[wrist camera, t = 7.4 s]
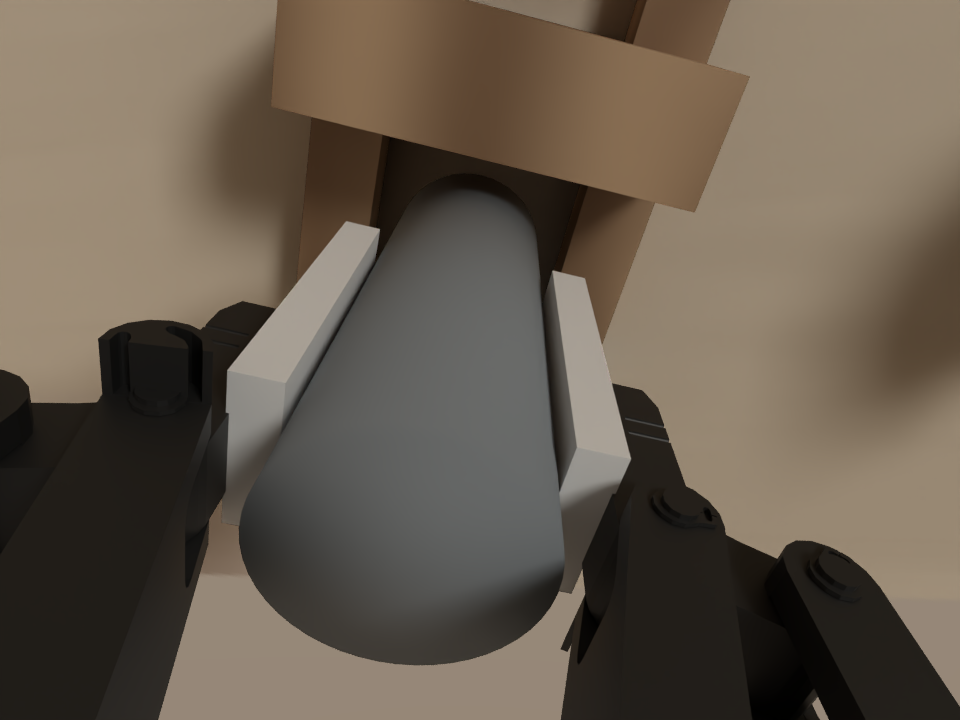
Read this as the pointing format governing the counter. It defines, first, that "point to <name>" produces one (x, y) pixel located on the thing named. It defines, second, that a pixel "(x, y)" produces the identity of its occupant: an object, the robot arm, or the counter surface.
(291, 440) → the plug
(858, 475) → the counter surface
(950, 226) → the counter surface
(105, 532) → the robot arm
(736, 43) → the counter surface
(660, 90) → the socket block
